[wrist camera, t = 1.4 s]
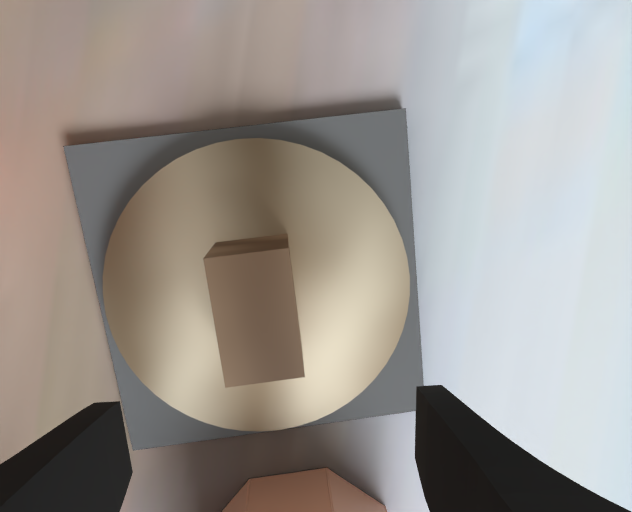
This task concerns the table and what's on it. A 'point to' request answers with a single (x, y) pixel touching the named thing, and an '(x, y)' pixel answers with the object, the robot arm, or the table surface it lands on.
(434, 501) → the robot arm
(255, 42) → the table surface
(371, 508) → the bowl
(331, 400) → the lid
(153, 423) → the mat
